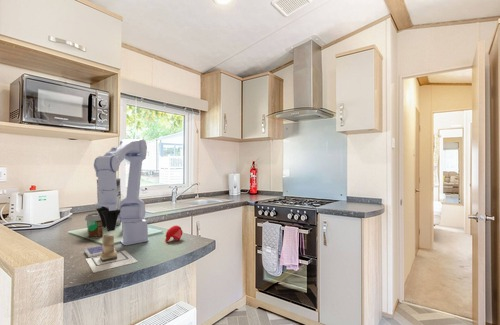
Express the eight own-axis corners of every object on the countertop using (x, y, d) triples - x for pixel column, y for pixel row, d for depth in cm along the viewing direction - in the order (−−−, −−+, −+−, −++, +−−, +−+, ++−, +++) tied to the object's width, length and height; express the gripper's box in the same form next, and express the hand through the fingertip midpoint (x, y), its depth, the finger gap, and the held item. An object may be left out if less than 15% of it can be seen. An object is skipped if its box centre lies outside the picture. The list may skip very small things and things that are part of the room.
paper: (125, 251, 103) (125, 250, 103) (137, 262, 91) (137, 261, 91) (85, 259, 95) (85, 258, 95) (93, 272, 83) (93, 271, 83)
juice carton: (112, 227, 144) (111, 176, 144) (95, 227, 146) (94, 177, 147) (123, 223, 153) (122, 175, 153) (107, 223, 155) (106, 176, 155)
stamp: (114, 255, 97) (113, 233, 97) (117, 258, 94) (116, 235, 94) (100, 258, 95) (99, 235, 95) (102, 262, 91) (101, 238, 91)
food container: (83, 235, 130) (82, 214, 130) (97, 232, 134) (97, 212, 134) (88, 240, 120) (87, 217, 121) (103, 237, 124) (103, 215, 125)
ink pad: (111, 247, 109) (111, 243, 109) (116, 252, 102) (116, 248, 102) (84, 252, 103) (84, 248, 103) (88, 258, 96) (88, 254, 96)
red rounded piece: (178, 229, 122) (166, 224, 119) (185, 226, 118) (173, 221, 115) (172, 247, 117) (160, 242, 114) (180, 244, 113) (168, 239, 110)
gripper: (91, 189, 98) (92, 227, 98) (98, 192, 87) (99, 234, 87) (112, 188, 103) (113, 224, 103) (122, 190, 91) (123, 231, 91)
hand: (108, 228), depth 95 cm, fingers open, 7 cm apart
